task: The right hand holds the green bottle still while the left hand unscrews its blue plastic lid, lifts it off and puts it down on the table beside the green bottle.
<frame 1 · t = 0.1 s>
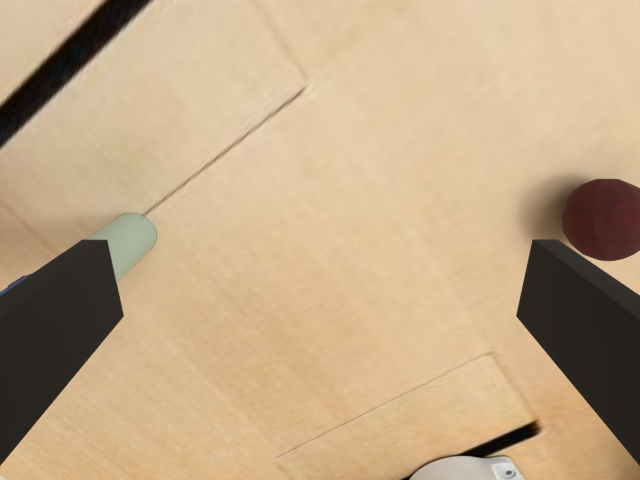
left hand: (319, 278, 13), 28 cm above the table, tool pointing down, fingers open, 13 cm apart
green bottle: (135, 233, 42), on the table
dark red ball: (582, 206, 41), on the table
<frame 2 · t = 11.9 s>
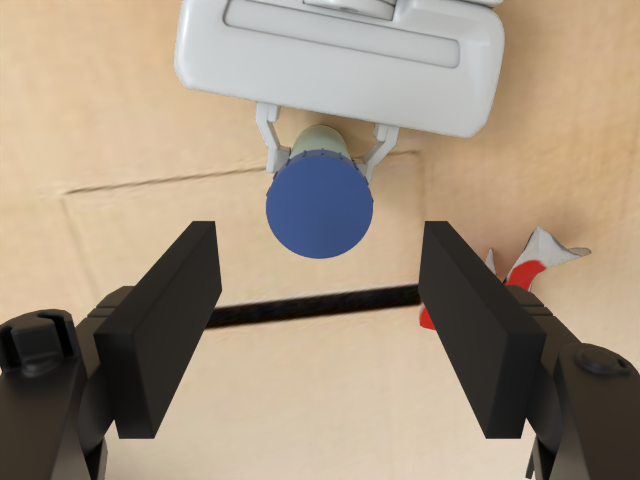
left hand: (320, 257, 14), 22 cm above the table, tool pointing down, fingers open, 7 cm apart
right hand: (318, 179, 29), fingers closed on green bottle, 4 cm apart
green bottle: (319, 152, 34), on the table, touching right hand
lid: (319, 208, 20), point 16 cm above the table, screwed on, not yet turned
fish: (485, 262, 38), on the table
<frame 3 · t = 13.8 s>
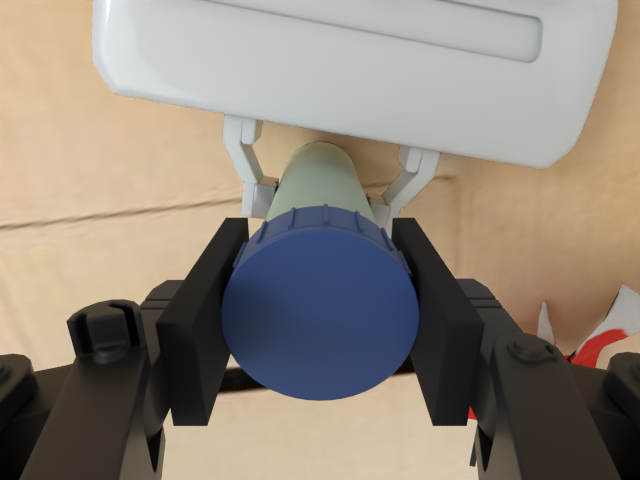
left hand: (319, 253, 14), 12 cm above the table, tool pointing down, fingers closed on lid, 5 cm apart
right hand: (318, 224, 20), fingers closed on green bottle, 4 cm apart
green bottle: (320, 177, 25), on the table, touching right hand
lid: (320, 316, 11), point 16 cm above the table, screwed on, not yet turned, touching left hand
fish: (536, 317, 29), on the table
when the left hand's fingers open (12 cm above the table, at t = 15.2 s): lid stays where it is, point 16 cm above the table.
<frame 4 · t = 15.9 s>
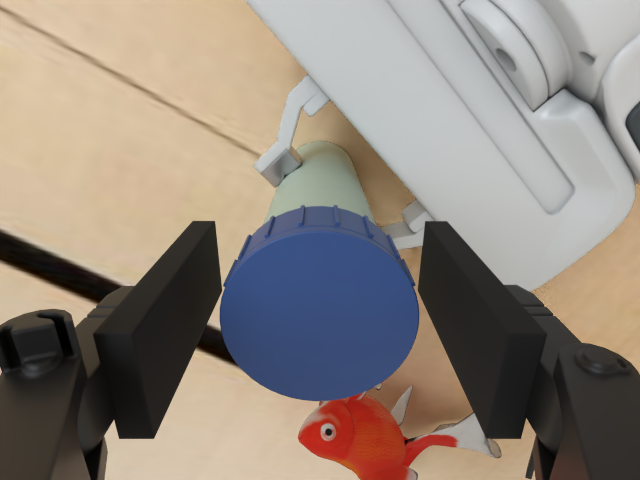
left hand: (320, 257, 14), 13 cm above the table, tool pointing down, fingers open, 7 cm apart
right hand: (307, 217, 20), fingers closed on green bottle, 4 cm apart
green bottle: (319, 176, 26), on the table, touching right hand
lid: (319, 316, 11), point 16 cm above the table, turned 111° so far, risen 0.3 cm, still on its thread
fish: (397, 394, 32), on the table
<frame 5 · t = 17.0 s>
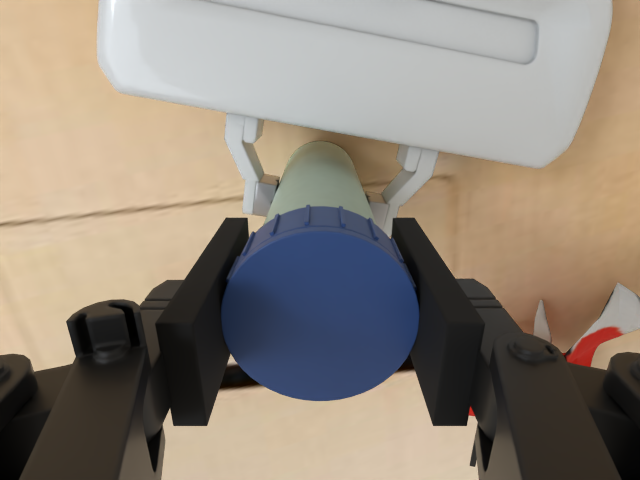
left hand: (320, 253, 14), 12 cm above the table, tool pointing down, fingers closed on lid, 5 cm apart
right hand: (317, 222, 20), fingers closed on green bottle, 4 cm apart
green bottle: (320, 176, 26), on the table, touching right hand
lid: (320, 316, 11), point 16 cm above the table, turned 111° so far, risen 0.3 cm, still on its thread, touching left hand
fish: (532, 316, 30), on the table
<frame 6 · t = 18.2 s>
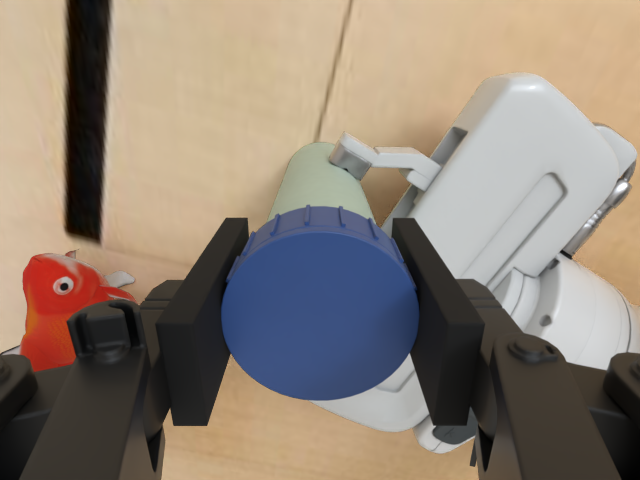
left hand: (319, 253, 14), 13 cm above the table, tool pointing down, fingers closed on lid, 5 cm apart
right hand: (305, 196, 20), fingers closed on green bottle, 4 cm apart
green bottle: (320, 176, 26), on the table, touching right hand
lid: (320, 316, 11), point 17 cm above the table, off its thread, touching left hand
fish: (117, 319, 30), on the table
when the left hand's fingers open (0 cm above the table, at t = 25.1 s): lid drops 3 cm, point 2 cm above the table.
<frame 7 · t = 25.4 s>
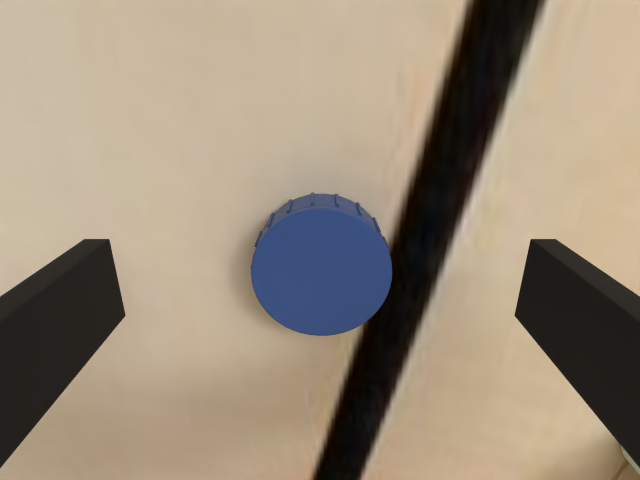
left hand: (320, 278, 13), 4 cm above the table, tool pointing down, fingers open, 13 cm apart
lid: (321, 272, 15), point 2 cm above the table, off its thread
when the right hand's fingers open (6 cm above the table, at t = 25.7 s): green bottle stays where it is, on the table.
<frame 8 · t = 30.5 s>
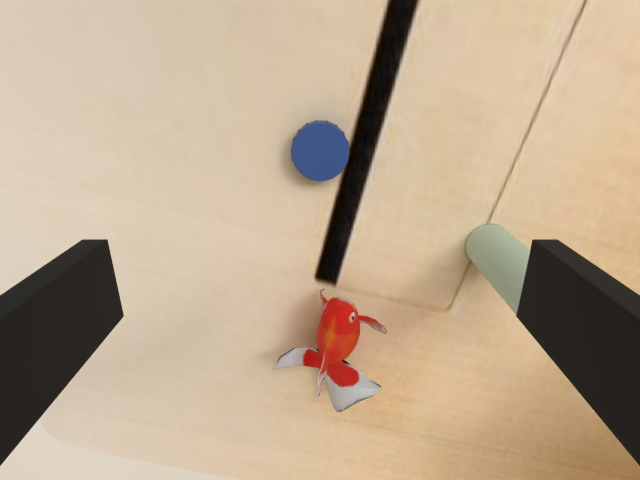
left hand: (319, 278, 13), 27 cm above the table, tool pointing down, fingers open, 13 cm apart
green bottle: (487, 244, 41), on the table
lid: (320, 152, 36), point 2 cm above the table, off its thread
fish: (335, 333, 45), on the table
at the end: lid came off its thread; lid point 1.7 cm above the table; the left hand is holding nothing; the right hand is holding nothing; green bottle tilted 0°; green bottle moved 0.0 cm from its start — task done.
